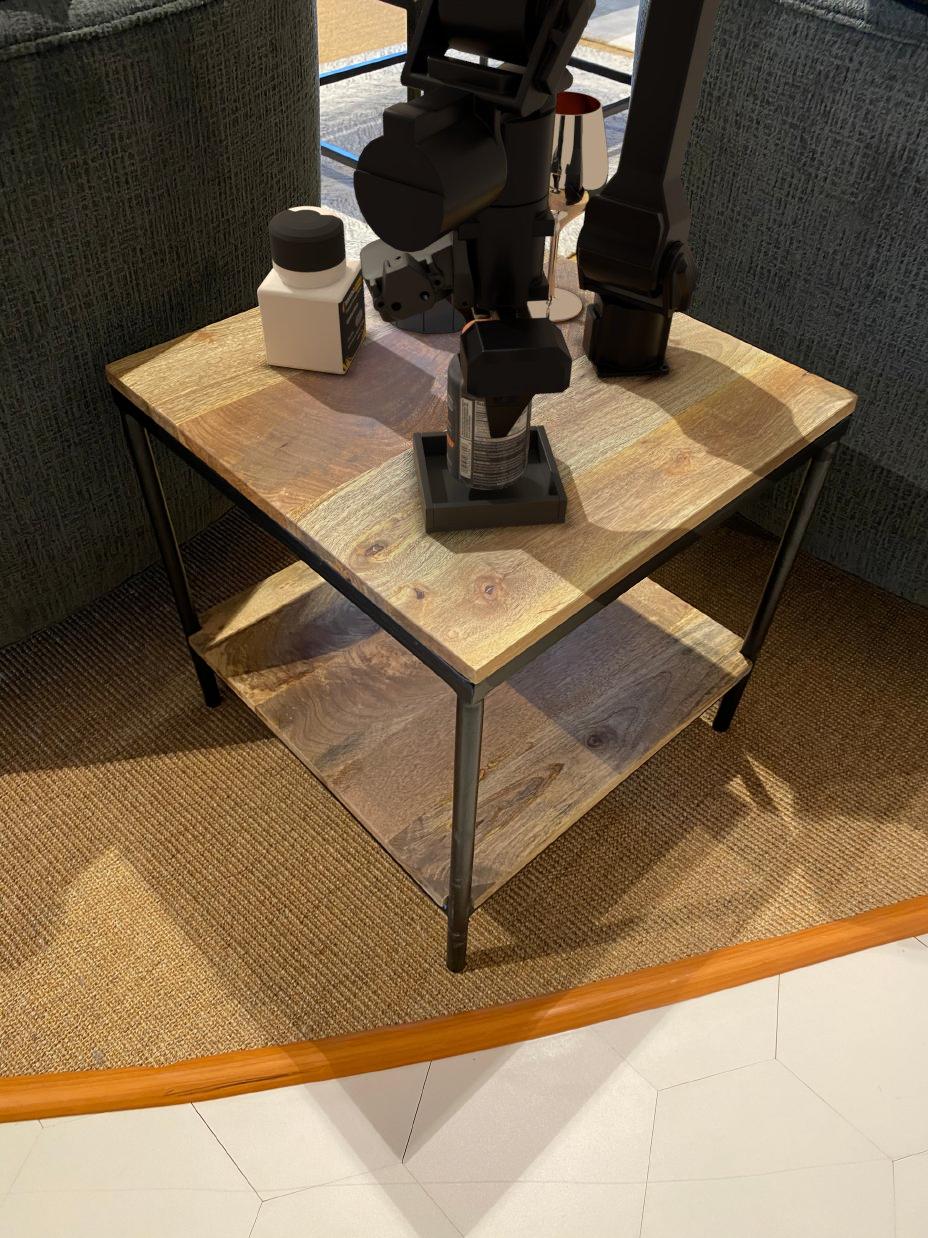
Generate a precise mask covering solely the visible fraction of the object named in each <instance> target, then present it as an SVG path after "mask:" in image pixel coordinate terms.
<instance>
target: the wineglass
mask: <svg viewBox="0 0 928 1238" xmlns="http://www.w3.org/2000/svg"><path fill="white" fill-rule="evenodd" d="M604 118H605V117H604V112H603V105H602V102H601V100H600V99H599V98H598V97H595V96H593V95H590V94H587V93H583V92H578V91H571V90H565V91H563V92H561V93H559V94H558V95H557V103H556V115H555V127H554V140H553V152H552V164H551V176H550V191H549V203H548V205H549V207H550V209H551V211H552V214H553V216H554V218H555V228H554V236H550V237H549V248H548V249H549V250H548V260H547V271H546V278H547V280H548V283H549V297H548V301H528V304H527V305H528V308H529V310H530V313H531V316H532V318H545V317H548V318H549V319H550V320H551V321H552V322H553V323H560V322H565V321H569V320H571V319H574V318H576V317H577V316H578V315H579V314H581V312H582V309H583V303H582V301H581V299H580V298H579V296H577V295H576V294H575V293H573V292H570V291H569V290H566V289H563V288H558V287H556V273H557V262H558V253H559V251H558V250H559V241H560V234H561V232H562V231H563V229H564V228H565V227H567V225H568V224H569V223H571V222H572V221H573V220H575V219H577V218H578V217H580V216H581V215H582V214H585V206H586V203H587V202H588V200H589V199H590V198H591V196H592V195H597V194H598V193H599V192H600V191H601V190H602V188H603V187H604V186H605V185H606V184H607V182H608V179H609V151H608V142H607V134H606V127H605V119H604Z"/></svg>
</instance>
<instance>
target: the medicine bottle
mask: <svg viewBox="0 0 928 1238" xmlns="http://www.w3.org/2000/svg"><path fill="white" fill-rule="evenodd" d="M268 235H269V236H268V237H269V244H270V251H271V260H272V261H271V262H272V267H273V268H272V269H271V270H270V271H269V273H268V274H267V276H266V277H265V278H264V280H263V281H262V282H261V284H259V285H260V286H259V287H258V288H257V292H256V293H257V301H258V308H259V315H260V323H261V328H262V329H261V330H262V336H263V346H264V351H265V358H266V363H267V364H268V365H270V366H275V367H276V366H277V367H285V368H292V369H299V370H306V371H314V372H320V373H321V372H322V373H328V374H336V375H344V374H346V373H347V371H348V370H349V367H350V366H351V364H352V362H353V360H354V358H355V356H356V354H357V352H358V350H359V349H360V347H361V345H362V343H363V342H364V339H365V337H366V335H367V319H366V302H365V299H366V298H365V284H364V283H365V281H364V279H363V276H362V269H361V261H360V259H359V260H358V259H351V258H350V259H349V258H347V253H346V237H345V223H344V221H343V219H342V218H341V217H340V215H338V214H337V213H335V212H334V211H332V210H329V209H326V208H324V207H318V206H311V205H303V206H302V205H301V206H296V207H290V208H288V209H285V210H283V211H280V212H279V213H277V214H275V215H274V216H273V217H272V218H271V220H270V221H269V223H268Z"/></svg>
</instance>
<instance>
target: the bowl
mask: <svg viewBox="0 0 928 1238" xmlns="http://www.w3.org/2000/svg"><path fill="white" fill-rule="evenodd" d="M389 324H391V325H393V326H394V327H396V328H399V329H403V330H407V331H412V332H416V333H420V334H442V333H443V334H444V333H455V332H457V331H460V330H463V328H464V327H465V326H466V325H465V320H464V317H463V316H462V315H461V314H460V313H459V312H458V311H457V310H456V309H453V306H452V305H451V304H450V303H449V302H448V301H447V300H446V299H443V300H441V301H439V302H437V303H435V304H434V306H433V308H432V309H430V310H427V311H425V312H422V313H420V314H417V315H414V316H412V317H409V318H407V319H404V320H398V321H395V322H389Z"/></svg>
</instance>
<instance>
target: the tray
mask: <svg viewBox="0 0 928 1238" xmlns="http://www.w3.org/2000/svg"><path fill="white" fill-rule="evenodd" d="M545 428H546V427H545V426H544V425H542V424H541V425H530V438H529V450H528V463H527V468H526V471H525V474H524V475H523V476H522V478H521V479H520V480H519V481H517V482H516V483H514V484H512V485H510V486H508V487H505V488H501V489H495V490H481V489H475V488H472V487H469V486H466V485H464V484H462V483H460V482H459V481H457V480H456V479H455V478H454V477H453V476H452V475H451V473H450V471H449V469H448V465H447V430H443V431H439V430H438V431H423V432H413V433H412V455H413V456H412V457H413V462H414V469H415V475H416V481H417V488H418V494H419V501H420V506H421V513H422V519H423V524H424V525H423V526H424V530H425V531H424V532H425V533H426V534H431V533H442V532H444V533H445V532H457V531H458V532H459V531H473V530H485V529H497V528H498V529H500V528H512V527H513V528H514V527H530V526H542V525H556V524H565V523H566V517H567V510H568V501H569V499H568V495H567V493H566V490H565V487H564V484H563V480H562V478H561V475H560V471H559V468H558V464H557V462H556V459H555V456H554V452H553V450H552V447H551V443H550V441H549V438H548V435H547V431H546V429H545Z"/></svg>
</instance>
